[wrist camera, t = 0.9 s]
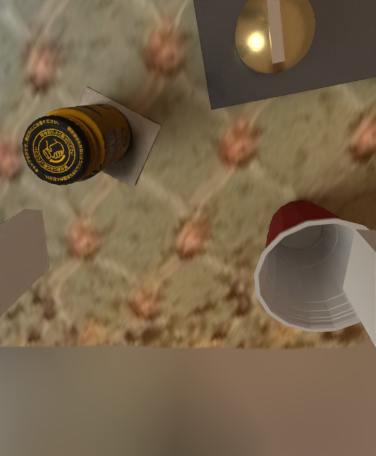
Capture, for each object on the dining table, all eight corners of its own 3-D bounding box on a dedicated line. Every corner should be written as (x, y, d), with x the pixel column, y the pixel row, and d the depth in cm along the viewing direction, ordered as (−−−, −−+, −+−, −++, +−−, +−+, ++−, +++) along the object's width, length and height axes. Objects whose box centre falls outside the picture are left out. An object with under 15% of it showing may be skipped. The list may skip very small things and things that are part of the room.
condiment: (86, 86, 36) (24, 86, 25) (161, 125, 37) (133, 142, 26) (63, 151, 39) (-2, 176, 28) (134, 186, 40) (97, 225, 29)
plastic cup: (242, 267, 42) (247, 332, 31) (252, 175, 38) (262, 213, 27) (337, 275, 41) (378, 345, 30) (358, 183, 37) (414, 224, 26)
